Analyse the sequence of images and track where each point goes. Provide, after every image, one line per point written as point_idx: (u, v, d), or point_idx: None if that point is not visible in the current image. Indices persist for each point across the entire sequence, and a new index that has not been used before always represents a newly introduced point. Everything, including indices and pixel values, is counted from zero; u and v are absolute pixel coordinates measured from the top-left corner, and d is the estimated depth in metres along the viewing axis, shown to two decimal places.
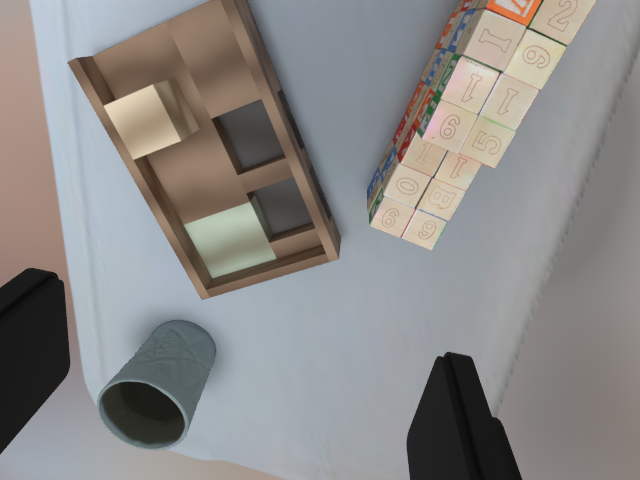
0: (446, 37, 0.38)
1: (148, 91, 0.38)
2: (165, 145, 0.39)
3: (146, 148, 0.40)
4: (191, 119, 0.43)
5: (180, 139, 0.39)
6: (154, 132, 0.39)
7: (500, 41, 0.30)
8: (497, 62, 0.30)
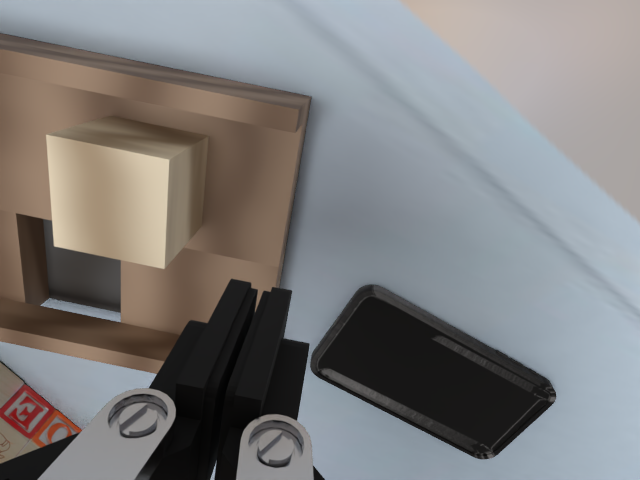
0: None
1: (155, 254, 0.20)
2: (54, 214, 0.19)
3: (59, 175, 0.18)
4: None
5: (57, 245, 0.20)
6: (84, 212, 0.19)
7: None
8: None
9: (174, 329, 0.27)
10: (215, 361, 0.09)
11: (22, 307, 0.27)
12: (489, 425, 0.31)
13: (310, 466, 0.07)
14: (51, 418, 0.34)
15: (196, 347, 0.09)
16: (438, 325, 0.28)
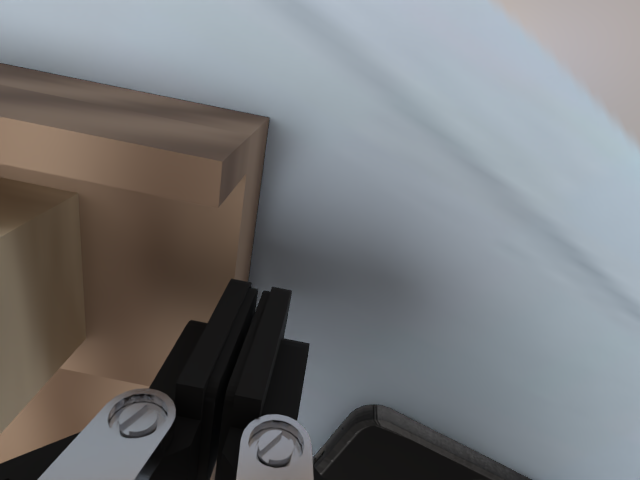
0: None
1: None
2: None
3: None
4: None
5: None
6: None
7: None
8: None
9: None
10: (215, 361, 0.09)
11: None
12: None
13: (310, 466, 0.07)
14: None
15: (196, 347, 0.09)
16: (478, 468, 0.18)
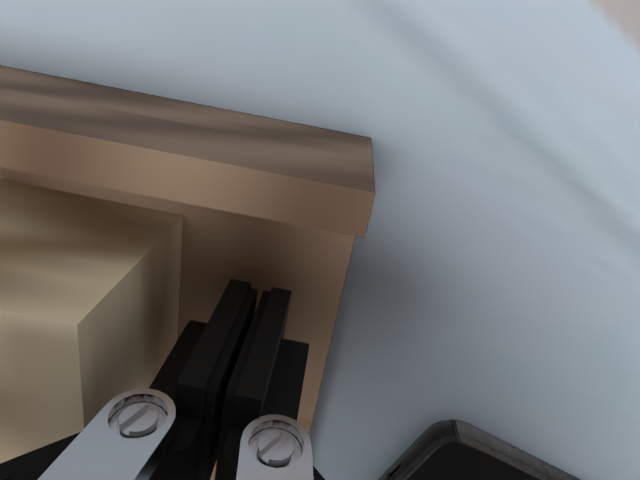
0: None
1: None
2: None
3: None
4: None
5: None
6: None
7: None
8: None
9: None
10: (215, 361, 0.09)
11: None
12: None
13: (310, 466, 0.07)
14: None
15: (196, 347, 0.09)
16: None
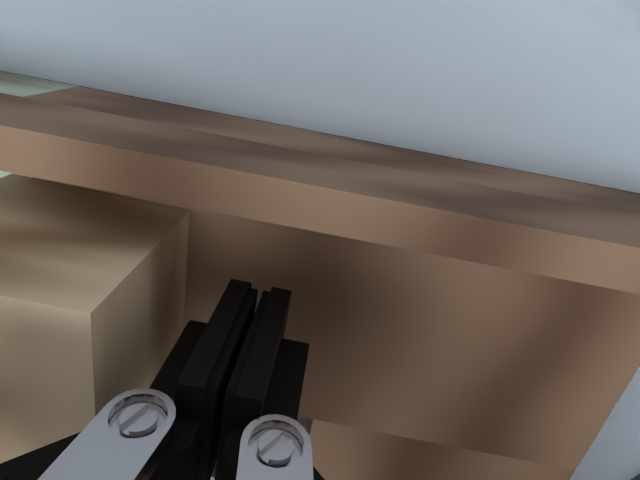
0: None
1: None
2: None
3: None
4: None
5: None
6: None
7: None
8: None
9: None
10: (215, 361, 0.09)
11: None
12: None
13: (310, 466, 0.07)
14: None
15: (196, 347, 0.09)
16: None
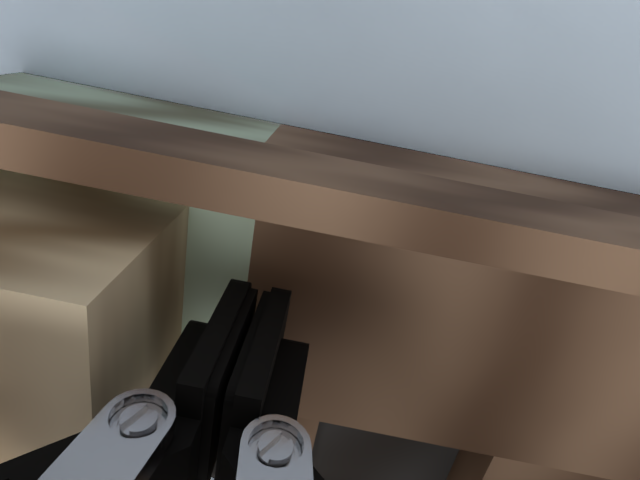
0: None
1: None
2: None
3: None
4: None
5: None
6: None
7: None
8: None
9: None
10: (215, 361, 0.09)
11: None
12: None
13: (310, 466, 0.07)
14: None
15: (196, 347, 0.09)
16: None
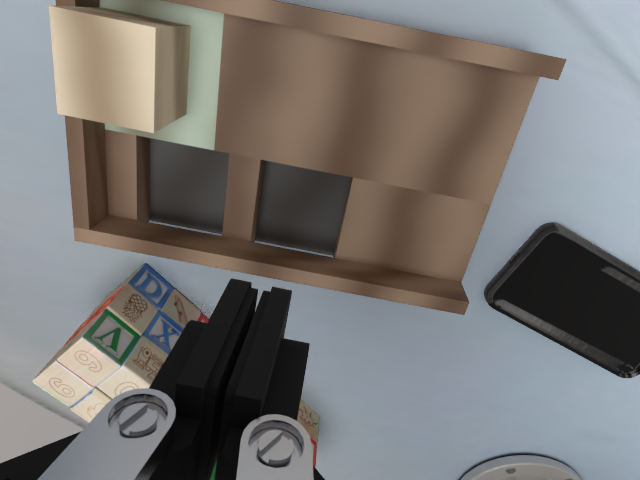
0: None
1: (146, 119, 0.23)
2: (57, 83, 0.22)
3: (61, 45, 0.21)
4: None
5: (60, 113, 0.23)
6: (83, 80, 0.22)
7: None
8: None
9: (382, 263, 0.31)
10: (215, 361, 0.09)
11: (251, 245, 0.31)
12: (637, 347, 0.35)
13: (310, 466, 0.07)
14: None
15: (196, 347, 0.09)
16: (610, 257, 0.32)
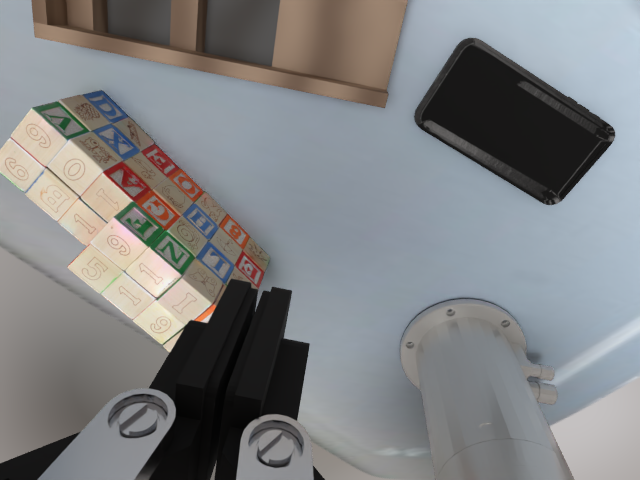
0: (225, 235, 0.40)
1: None
2: None
3: None
4: None
5: None
6: None
7: (182, 306, 0.33)
8: (166, 299, 0.33)
9: (314, 70, 0.34)
10: (215, 361, 0.09)
11: (195, 51, 0.34)
12: (558, 170, 0.38)
13: (310, 466, 0.07)
14: (178, 172, 0.41)
15: (196, 347, 0.09)
16: (523, 69, 0.35)
